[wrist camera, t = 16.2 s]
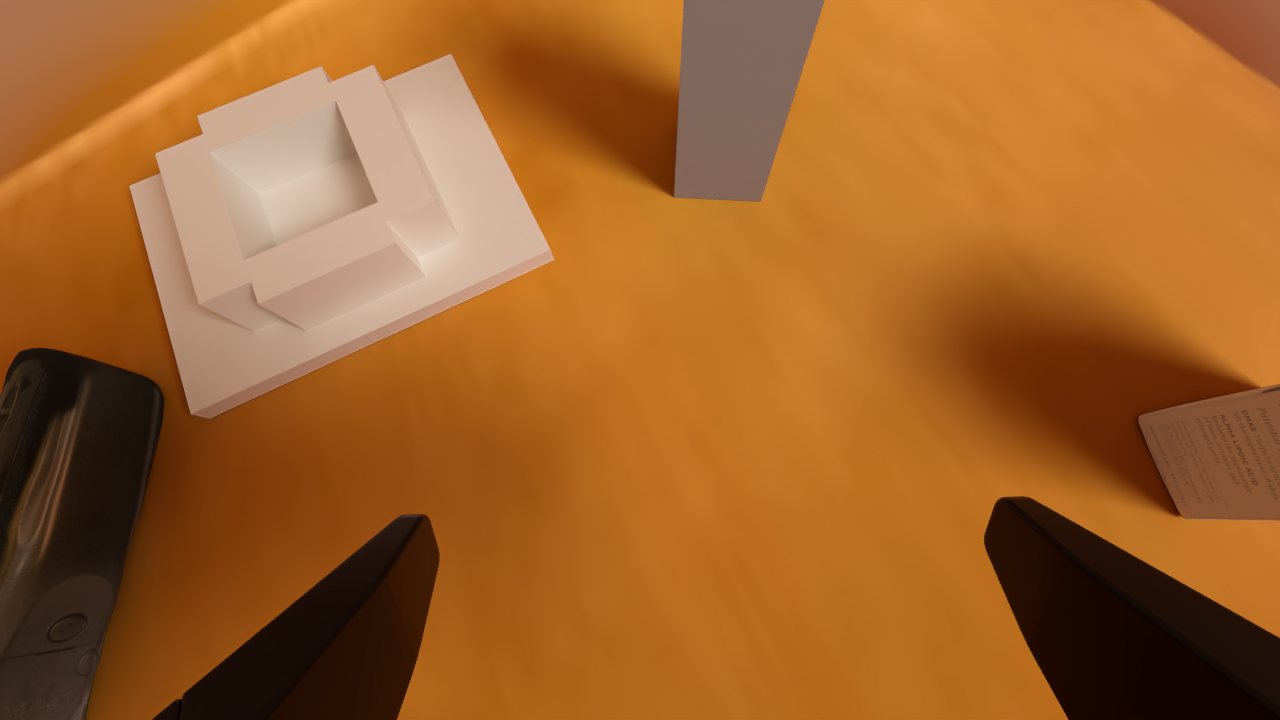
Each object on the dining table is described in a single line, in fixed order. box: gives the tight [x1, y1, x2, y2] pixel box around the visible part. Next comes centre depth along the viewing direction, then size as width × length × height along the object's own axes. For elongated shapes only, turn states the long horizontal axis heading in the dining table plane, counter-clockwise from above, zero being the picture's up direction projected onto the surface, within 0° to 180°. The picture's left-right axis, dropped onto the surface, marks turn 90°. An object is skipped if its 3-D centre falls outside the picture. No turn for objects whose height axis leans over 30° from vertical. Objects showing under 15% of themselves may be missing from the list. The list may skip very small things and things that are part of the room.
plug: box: [674, 0, 824, 201], centre depth 20 cm, size 4×4×13 cm
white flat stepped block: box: [129, 54, 554, 419], centre depth 24 cm, size 16×12×4 cm
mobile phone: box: [0, 348, 164, 720], centre depth 20 cm, size 5×3×15 cm
